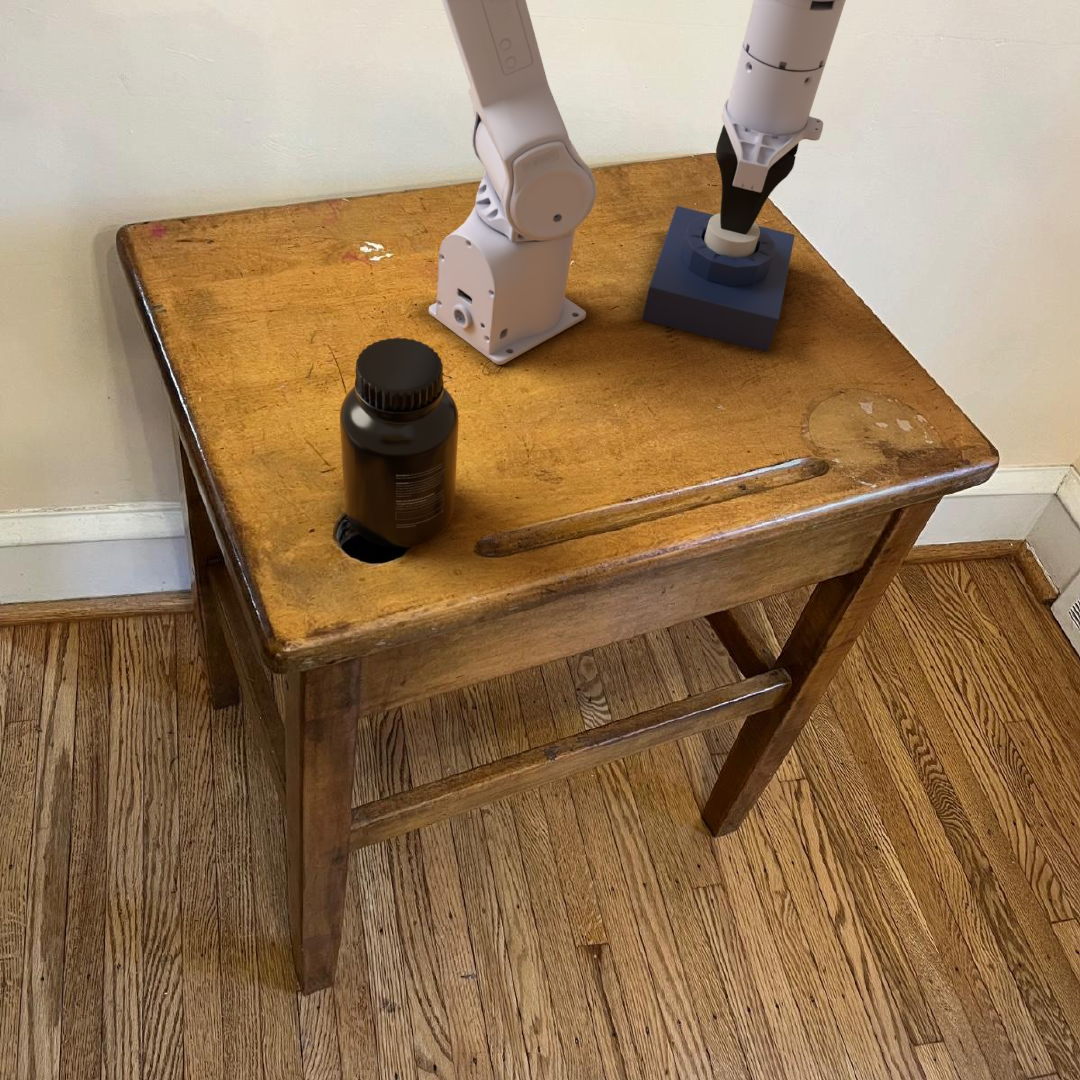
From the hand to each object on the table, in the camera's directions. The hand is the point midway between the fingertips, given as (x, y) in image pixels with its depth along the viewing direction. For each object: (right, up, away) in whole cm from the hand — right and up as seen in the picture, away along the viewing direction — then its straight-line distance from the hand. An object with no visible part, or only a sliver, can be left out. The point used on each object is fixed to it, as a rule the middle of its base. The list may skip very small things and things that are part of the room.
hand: (734, 227), depth 82 cm
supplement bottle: (-24, -22, -14) cm, 36 cm away
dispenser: (-1, -4, +5) cm, 6 cm away
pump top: (0, -1, +1) cm, 2 cm away
